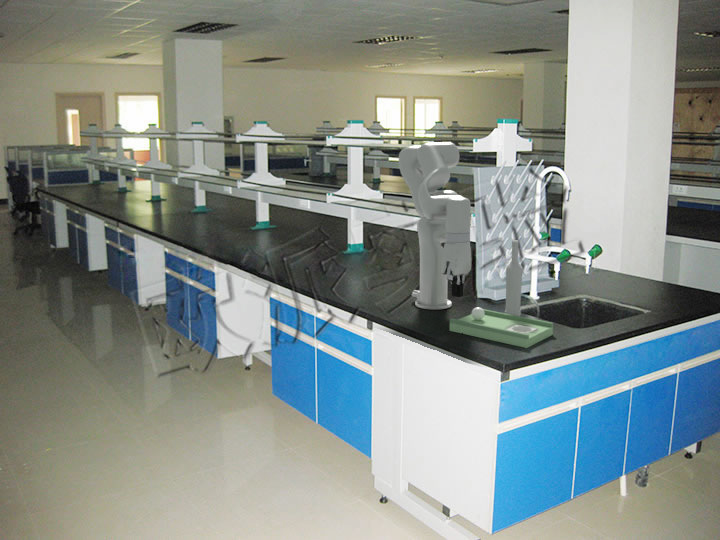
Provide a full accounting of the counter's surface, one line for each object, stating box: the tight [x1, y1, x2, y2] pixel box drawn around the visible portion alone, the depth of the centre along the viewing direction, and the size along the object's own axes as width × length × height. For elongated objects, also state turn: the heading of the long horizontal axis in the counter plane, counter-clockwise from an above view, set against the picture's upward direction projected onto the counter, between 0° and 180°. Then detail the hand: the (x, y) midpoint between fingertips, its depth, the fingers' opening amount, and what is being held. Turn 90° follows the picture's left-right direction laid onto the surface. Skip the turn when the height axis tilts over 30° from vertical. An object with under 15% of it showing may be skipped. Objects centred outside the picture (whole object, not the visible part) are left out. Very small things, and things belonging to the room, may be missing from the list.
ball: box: [470, 306, 485, 320], centre depth 213 cm, size 4×4×4 cm
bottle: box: [504, 239, 524, 316], centre depth 223 cm, size 5×5×25 cm
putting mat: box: [449, 308, 554, 349], centre depth 208 cm, size 26×16×4 cm, turn 49°
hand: (457, 296), depth 216 cm, fingers closed
